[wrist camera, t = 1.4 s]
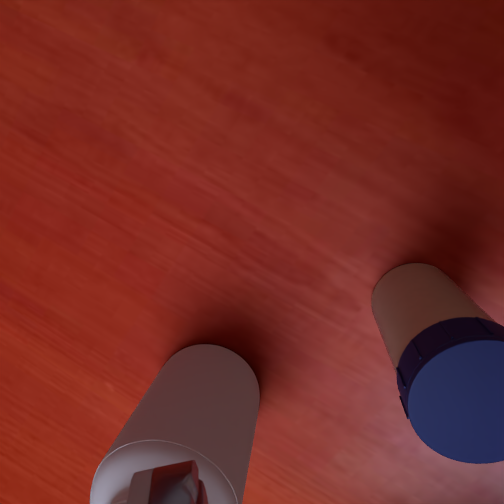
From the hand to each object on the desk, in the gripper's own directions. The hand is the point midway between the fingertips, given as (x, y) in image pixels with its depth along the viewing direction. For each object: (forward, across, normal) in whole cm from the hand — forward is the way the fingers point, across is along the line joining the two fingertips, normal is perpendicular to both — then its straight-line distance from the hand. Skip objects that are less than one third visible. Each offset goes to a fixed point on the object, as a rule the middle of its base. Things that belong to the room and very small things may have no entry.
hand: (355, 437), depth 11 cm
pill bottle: (+18, +6, +13) cm, 23 cm away
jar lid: (+5, -7, +6) cm, 10 cm away
